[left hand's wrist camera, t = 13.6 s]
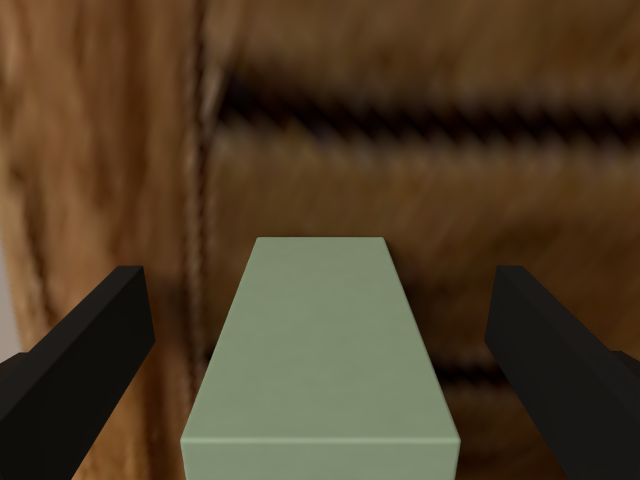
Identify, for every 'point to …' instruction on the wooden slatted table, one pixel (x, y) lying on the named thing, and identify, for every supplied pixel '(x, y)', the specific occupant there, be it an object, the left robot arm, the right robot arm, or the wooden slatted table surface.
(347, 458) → the block
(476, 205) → the wooden slatted table surface
